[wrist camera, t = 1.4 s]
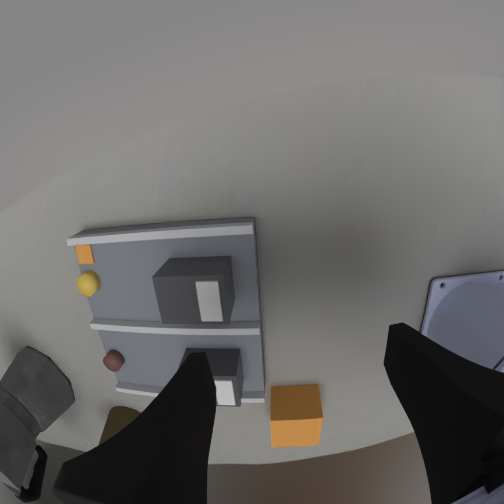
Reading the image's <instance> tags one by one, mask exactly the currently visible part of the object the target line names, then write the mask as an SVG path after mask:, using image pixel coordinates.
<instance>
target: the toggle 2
mask: <svg viewBox="0 0 504 504" xmlns="http://www.w3.org/2000/svg"><path fill="white" fill-rule="evenodd" d="M197 352H206V355H207V358H208V362H209V365H210V369H211V372H212V375H213V379H214V382H215V385H216V406H238V407H240V406H241V398H242V390H243V382H244V375H243V366H242V358H241V349H215V348H186V350H185V353H184V355H183V358H182V360H181V363H180V365H179V367H180V366H181V365H182V363H183V362H184V361H185V359H186V358H187V356H188V355H189V354H190V353H197ZM179 367H178V369H179Z"/></svg>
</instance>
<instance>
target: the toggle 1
mask: <svg viewBox="0 0 504 504" xmlns="http://www.w3.org/2000/svg"><path fill="white" fill-rule="evenodd" d="M152 279H153V284H154V289H155V294H156V298H157V303H158V307H159V312H160V316H161V320H162V324H229V323H230V319H231V315H232V310H233V306H234V302H235V293H234V284H233V274H232V264H231V256H210V257H187V258H169V259H168V260H167V261H166V262H165V263H164V264H163V265H162V266H161V268H160V269H159V270H158V271H157V272H156V273H155V274H154V275H153V276H152Z"/></svg>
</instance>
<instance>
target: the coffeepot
mask: <svg viewBox="0 0 504 504" xmlns="http://www.w3.org/2000/svg"><path fill="white" fill-rule="evenodd" d="M73 403H74V395H73V390H72V387H71V385H70V383H69V381H68V379H67V378H66V376H65V375H64V374H63V372H62V371H61V370H60V369H59V368H58V367H57V366H56V364H55V363H53V362H52V361H51V360H50V359H49V358H48V357H46V356H45V355H44V354H42V353H41V352H39V351H37V350H35V349H32V348H28V347H25V348H24V349H23V350H22V351H21V352H19V353H18V354H17V355H16V357H15V358H14V360H13V362H12V363H11V365H10V366H9V368H8V369H7V371H6V373H5V374H4V376H3V377H2V379H1V381H0V481H1V482H2V483H3V485H4V486H5V487H7V488H8V489H9V490H10V491H11V492H12V493H14V494H15V496H16V497H17V498H19V499H20V500H21V501H23V502H25V503H27V502H32V501H36V500H38V499H39V498H40V495H41V488H42V482H43V478H44V472H45V467H46V462H47V454H46V452H45V451H44V450H43V449H42V448H41V447H40V446H39V445H37V444H36V441H35V439H36V437H37V436H38V435H39V433H40V432H43V431H44V430H46V429H47V428H48V427H49V426H50V425H51V424H52V423H53V422H54V421H55V420H56V419H57V418H58V417H59V416H60V415H61V414H62V413H63V412H65V411H66V410H67V409H68V408H69V407H70V406H71V405H72V404H73ZM36 445H37V446H36ZM34 450H36V451H37V453H38V455H39V457H38V460H37V462H36V464H35V465H34V472H33V476H32V479H31V481H30V484H29V488H28V489H27V490H26V489H25V488H24V487H23V486H22V483H23V480H24V477H25V474H26V472H27V469H28V466H29V463H30V461H31V458H32V456H33V453H34Z"/></svg>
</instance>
